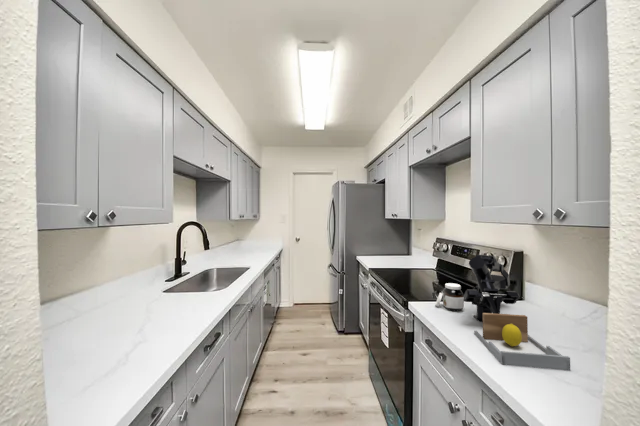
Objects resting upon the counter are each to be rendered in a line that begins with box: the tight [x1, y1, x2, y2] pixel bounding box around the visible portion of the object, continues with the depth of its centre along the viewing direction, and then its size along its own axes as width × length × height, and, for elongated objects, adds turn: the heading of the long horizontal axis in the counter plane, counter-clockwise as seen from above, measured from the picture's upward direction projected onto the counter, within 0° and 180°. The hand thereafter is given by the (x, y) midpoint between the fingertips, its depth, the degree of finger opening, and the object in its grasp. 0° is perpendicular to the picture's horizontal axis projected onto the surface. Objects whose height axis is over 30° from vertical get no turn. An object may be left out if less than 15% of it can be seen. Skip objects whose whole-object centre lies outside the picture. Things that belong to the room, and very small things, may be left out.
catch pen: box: [473, 330, 571, 371], centre depth 89 cm, size 21×18×4 cm
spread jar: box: [435, 282, 465, 312], centre depth 129 cm, size 12×11×12 cm
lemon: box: [502, 324, 522, 348], centre depth 91 cm, size 6×6×8 cm
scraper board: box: [482, 313, 529, 343], centre depth 96 cm, size 2×14×9 cm, turn 80°
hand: (497, 317), depth 100 cm, fingers closed
